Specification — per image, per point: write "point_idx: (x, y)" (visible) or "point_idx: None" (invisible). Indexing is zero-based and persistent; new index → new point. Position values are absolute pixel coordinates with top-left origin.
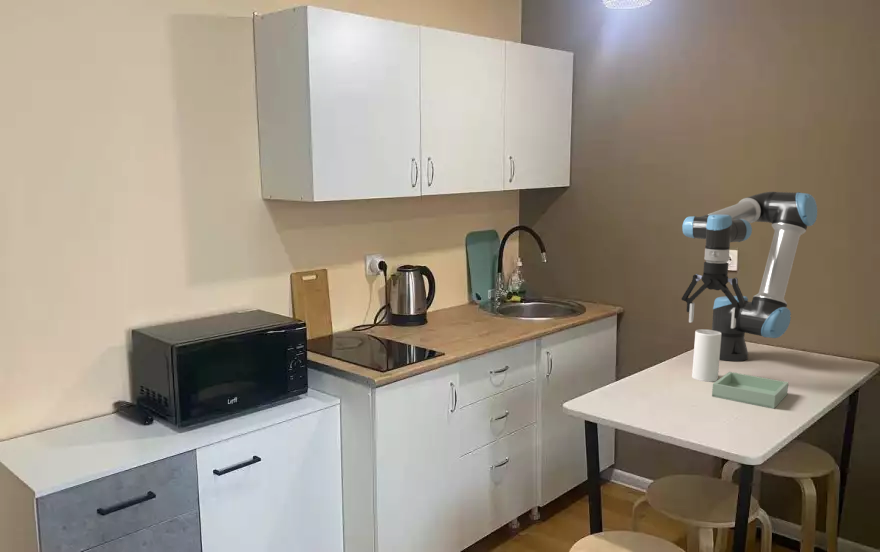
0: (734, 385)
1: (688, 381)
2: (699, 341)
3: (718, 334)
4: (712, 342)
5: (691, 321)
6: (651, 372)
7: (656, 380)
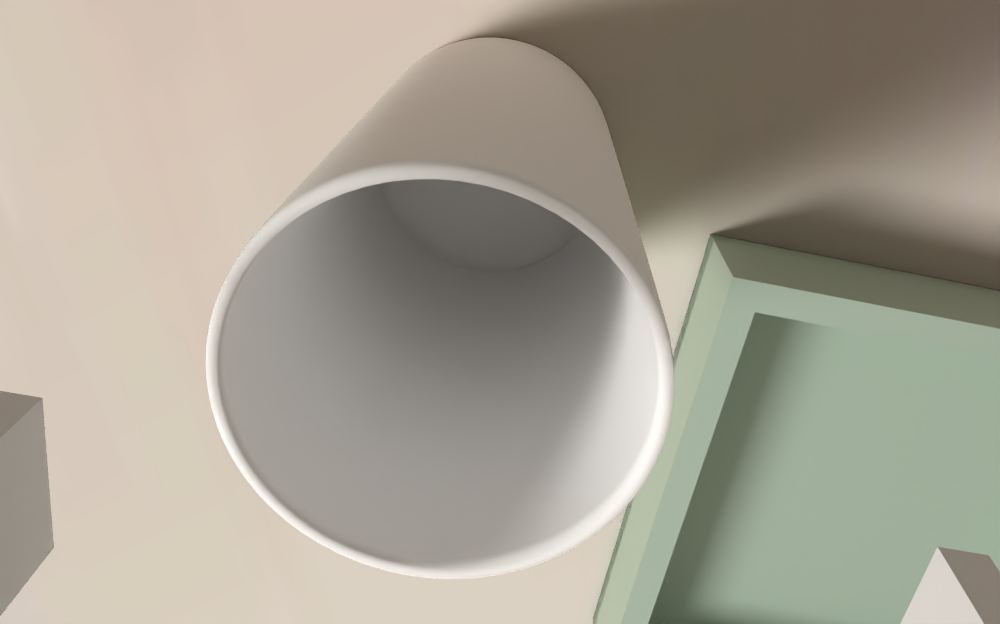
0: (762, 337)
1: None
2: (355, 464)
3: (625, 496)
4: (541, 483)
5: (38, 533)
6: (14, 213)
7: (145, 432)
